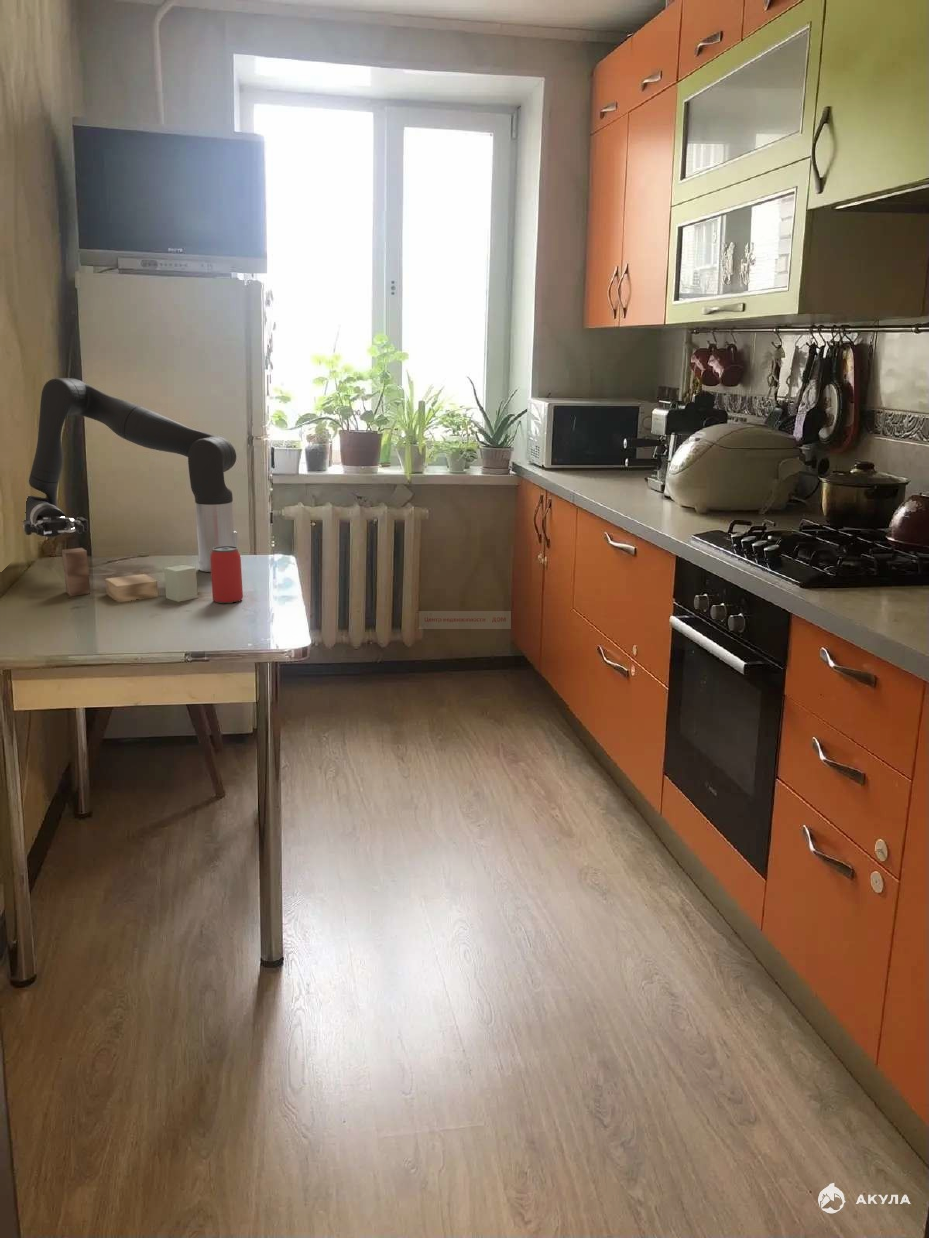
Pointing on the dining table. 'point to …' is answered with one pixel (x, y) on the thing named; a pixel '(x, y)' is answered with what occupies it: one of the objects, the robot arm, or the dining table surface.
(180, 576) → the sage green block
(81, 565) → the walnut pillar
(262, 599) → the dining table surface
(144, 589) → the oak base block
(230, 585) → the beer can
